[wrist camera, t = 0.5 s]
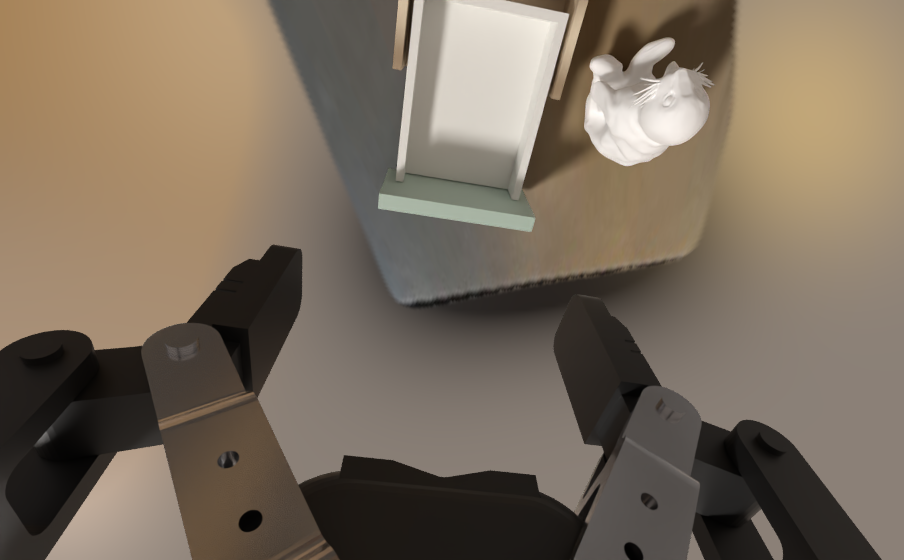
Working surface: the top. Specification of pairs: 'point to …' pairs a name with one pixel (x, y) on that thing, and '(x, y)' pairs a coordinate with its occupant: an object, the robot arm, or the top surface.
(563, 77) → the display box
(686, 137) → the white rounded figure
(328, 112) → the top surface
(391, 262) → the top surface
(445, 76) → the drawer
